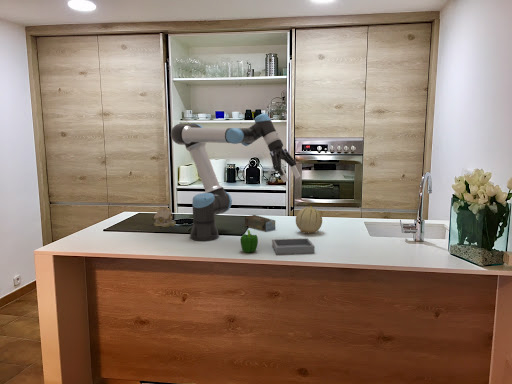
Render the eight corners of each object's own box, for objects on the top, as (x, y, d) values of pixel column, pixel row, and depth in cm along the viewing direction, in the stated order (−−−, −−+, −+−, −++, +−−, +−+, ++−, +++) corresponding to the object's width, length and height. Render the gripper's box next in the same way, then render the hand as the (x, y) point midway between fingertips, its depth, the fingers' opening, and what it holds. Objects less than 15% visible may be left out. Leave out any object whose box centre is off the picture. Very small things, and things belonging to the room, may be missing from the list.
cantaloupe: (295, 236, 224) (295, 209, 221) (296, 229, 238) (296, 204, 236) (322, 236, 222) (322, 209, 219) (321, 230, 236) (322, 204, 234)
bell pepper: (256, 254, 191) (256, 233, 190) (239, 253, 193) (238, 233, 191) (259, 249, 200) (259, 229, 198) (242, 248, 201) (242, 228, 200)
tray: (276, 254, 191) (276, 247, 190) (272, 246, 204) (272, 239, 204) (314, 253, 192) (314, 246, 192) (307, 245, 206) (307, 238, 206)
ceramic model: (149, 226, 250) (148, 209, 248) (160, 222, 260) (159, 206, 259) (169, 227, 245) (168, 211, 243) (179, 223, 255) (179, 208, 253)
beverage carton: (265, 232, 232) (265, 221, 231) (244, 226, 247) (244, 215, 246) (275, 230, 238) (275, 219, 237) (254, 224, 252) (254, 214, 251)
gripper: (266, 139, 196) (286, 179, 194) (290, 137, 217) (308, 172, 215) (255, 147, 200) (274, 186, 198) (279, 144, 221) (297, 179, 219)
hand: (292, 179), depth 206 cm, fingers open, 13 cm apart
